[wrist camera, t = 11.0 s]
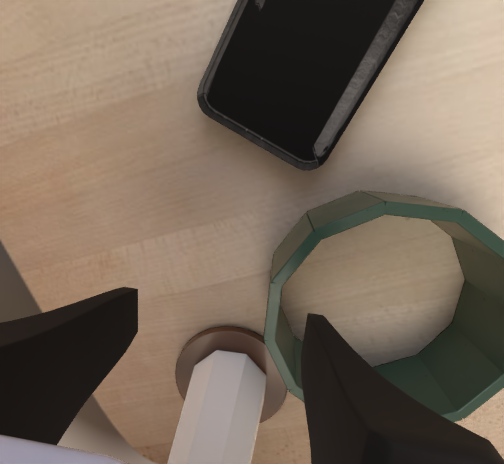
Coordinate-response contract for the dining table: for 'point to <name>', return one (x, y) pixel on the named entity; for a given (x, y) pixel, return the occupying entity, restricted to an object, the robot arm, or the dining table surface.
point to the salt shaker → (220, 411)
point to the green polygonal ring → (441, 348)
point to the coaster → (238, 343)
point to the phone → (300, 70)
